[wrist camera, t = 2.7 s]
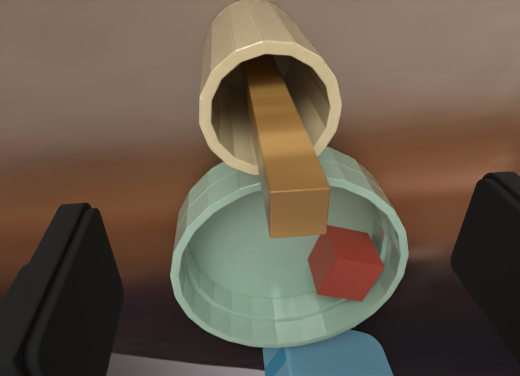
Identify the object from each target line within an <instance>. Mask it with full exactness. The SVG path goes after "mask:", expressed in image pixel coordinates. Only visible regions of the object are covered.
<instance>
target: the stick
mask: <svg viewBox="0 0 520 376" xmlns="http://www.w3.org/2000/svg"><path fill="white" fill-rule="evenodd" d="M240 66H241V72H242V78H243V84H244V90H245V95H246V101H247V107H248V113H249V119H250V124H251V130H252V136H253V142H254V148H255V154H256V159H257V165H258V171H259V177H260V183H261V188H262V194H263V200H264V206H265V212H266V218H267V223H268V229H269V235H270V238H284V237H297V236H310V235H324V234H326V230H327V220H328V211H329V201H330V191H331V188H330V186H329V183H328V181H327V179H326V176H325V174H324V172H323V169H322V167H321V165H320V163H319V160H318V158H317V156H316V153H315V151H314V149H313V146H312V144H311V142H310V140H309V137H308V135H307V133H306V130H305V128H304V126H303V123H302V121H301V119H300V117H299V114H298V112H297V110H296V107H295V105H294V103H293V100H292V98H291V96H290V93H289V91H288V89H287V87H286V84H285V82H284V80H283V77H282V75H281V73H280V70H279V68H278V66H277V64H276V61H275V59H274V57H273V55H270V54H264V55H261V56H258V57H255V58H252V59H249V60H247V61H244V62H241V63H240Z"/></svg>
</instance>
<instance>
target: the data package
mask: <svg viewBox="0 0 520 376" xmlns="http://www.w3.org/2000/svg"><path fill="white" fill-rule="evenodd" d="M263 358H264V367H265V376H393V373H392V371H391V368H390V366H389V363H388V361H387V358H386V356H385V353H384V351H383V348H382V346H381V345H380V343H379V342H378V341H377V340H376V339H375V338H374V337H373V336H371V335H369V334H367V333H363V332H359V331H354V330H350V329H349V330H347V331H345V332H342V333H340V334H338V335H336V336H333V337H331V338H328V339H325V340H321V341H318V342H314V343H310V344H306V345H301V346H292V347H282V348H266V347H263Z"/></svg>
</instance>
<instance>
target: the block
mask: <svg viewBox="0 0 520 376" xmlns="http://www.w3.org/2000/svg"><path fill="white" fill-rule="evenodd" d="M308 263H309V266H310V270H311V274H312V277H313V281H314V285H315V288H316V292H317V295H323V296H330V297H336V298H343V299H349V300H356V301H362V300H363V299H364V297H365V296H366V294H367V293H368V291H369V290H370V288H371V287H372V285H373V284H374V282H375V281H376V280H377V278H378V277H379V275H380V274H381V272H382V271H383V269H384V265H383V262H382V260H381V258H380V256H379V254H378V252H377V250H376V248H375V246H374V244H373V242H372V240H371V238H370V236H369V234H368V233H365V232H360V231H355V230H350V229H345V228H341V227H336V226H331V225H327V230H326V234H324V235H320V236H319V238H318V240H317V242H316V244H315V246H314V247H313V249H312V251H311V253H310V255H309V257H308Z"/></svg>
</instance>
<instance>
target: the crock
mask: <svg viewBox="0 0 520 376" xmlns="http://www.w3.org/2000/svg"><path fill="white" fill-rule="evenodd" d="M264 54H270V55H273V57H274V59H275V61H276V64H277V66H278V68H279V70H280V73H281V75H282V77H283V80H284V82H285V84H286V87H287V89H288V91H289V93H290V96H291V98H292V100H293V103H294V105H295V107H296V110H297V112H298V114H299V117H300V119H301V121H302V123H303V126H304V128H305V130H306V133H307V135H308V137H309V140H310V142H311V144H312V146H313V149H314V151H315V153H316V156H318V155H320V154H321V152H323V150H324V149H325V147H326V146H327V144H328V143H329V142H330V140H331V139H332V137H333V136H334V134H335V133H336V131H337V127H338V123H339V118H340V114H341V109H342V102H341V96H340V91H339V86H338V81H337V78H336V77H335V76H334V74H333V73H332V71H331V70H330V69H329V67H328V66H327V65H326V63H325V62H324V60H323V59H322V58H321V56H320V55H319V54H318V53H317V51H316V50H315V49H314V48H313V46H312V45H311V44H310V42H309V41H308V40H307V39H306V37H305V36H304V35H303V34H302V32H301V31H300V30H299V29H298V27H297V26H296V25H295V24H294V22H293V21H292V20H291V18H290V17H289V16H288V15H287V13H286V12H285V11H283V10H282V9H280V8H279V7H278V6H276V5H274V4H272V3H270V2H267V1H264V0H241V1H237V2H235V3H233V4H231V5H229V6H227V7H226V8H224V9H223V10H222V11H221V12H220V13H219V14H218V15H217V16H216V17H215V19H214V20H213V22H212V23H211V25H210V27H209V30H208V32H207V36H206V38H205V44H204V55H203V65H202V75H201V85H200V96H199V126H200V128H201V130H202V133H203V135H204V137H205V139H206V142H207V144H208V146H209V148H210V149H211V150H212V151H213V152H214V153H215V154H216V155H217V156H218V157H219V158H220V159H221V160H223V161H224V162H225V163H226V164H227V165H228V166H230V167H233V168H235V169H238V170H240V171H243V172H245V173H248V174H250V175H251V174H252V175H259V171H258V165H257V159H256V154H255V148H254V142H253V136H252V130H251V124H250V119H249V113H248V107H247V101H246V95H245V90H244V84H243V78H242V72H241V66H240V63H241V62H244V61H247V60H249V59H252V58H255V57H258V56H261V55H264Z"/></svg>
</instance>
